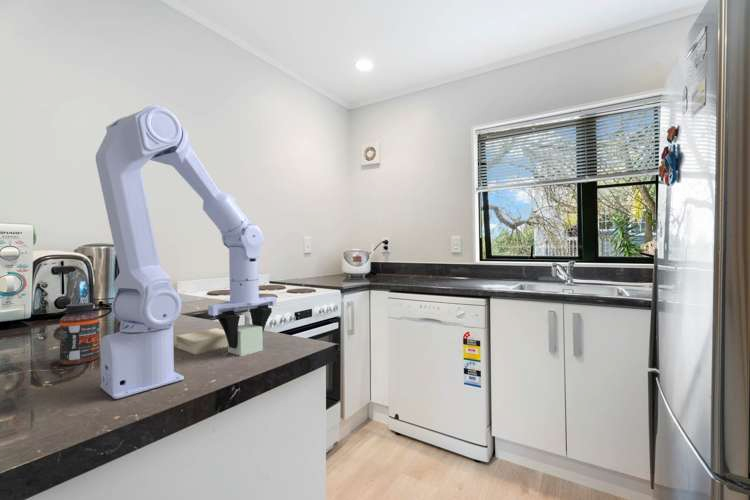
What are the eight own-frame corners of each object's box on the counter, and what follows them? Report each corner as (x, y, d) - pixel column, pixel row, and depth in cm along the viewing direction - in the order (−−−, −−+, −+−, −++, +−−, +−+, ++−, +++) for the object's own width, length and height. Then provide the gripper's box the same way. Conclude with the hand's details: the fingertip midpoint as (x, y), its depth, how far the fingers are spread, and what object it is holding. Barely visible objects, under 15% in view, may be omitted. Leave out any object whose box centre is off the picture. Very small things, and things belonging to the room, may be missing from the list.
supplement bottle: (82, 366, 64) (80, 306, 64) (51, 366, 65) (49, 306, 65) (107, 356, 70) (106, 301, 70) (79, 356, 71) (78, 301, 71)
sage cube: (241, 356, 69) (240, 331, 69) (228, 351, 72) (227, 328, 72) (262, 350, 73) (262, 326, 73) (249, 346, 76) (249, 323, 76)
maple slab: (195, 356, 71) (194, 341, 71) (176, 349, 76) (176, 335, 76) (236, 346, 78) (235, 333, 78) (216, 340, 83) (216, 328, 83)
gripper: (220, 284, 64) (221, 356, 64) (284, 278, 76) (285, 339, 76) (202, 282, 69) (204, 349, 69) (265, 276, 80) (266, 334, 80)
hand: (245, 344), depth 72 cm, fingers closed on sage cube, 5 cm apart
